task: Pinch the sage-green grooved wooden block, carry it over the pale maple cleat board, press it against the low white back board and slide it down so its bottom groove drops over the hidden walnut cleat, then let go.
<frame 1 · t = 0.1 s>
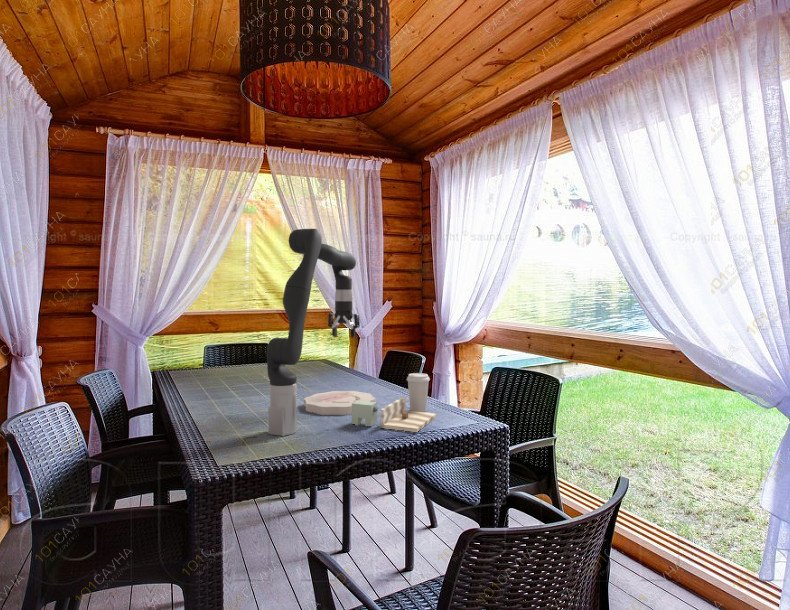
hand: (343, 337, 214), 29 cm above the table, tool pointing down, fingers open, 8 cm apart
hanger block: (364, 424, 184), on the table
coffee cup: (418, 411, 203), on the table
cleat board: (409, 422, 185), on the table
decorative plaque: (339, 407, 212), on the table
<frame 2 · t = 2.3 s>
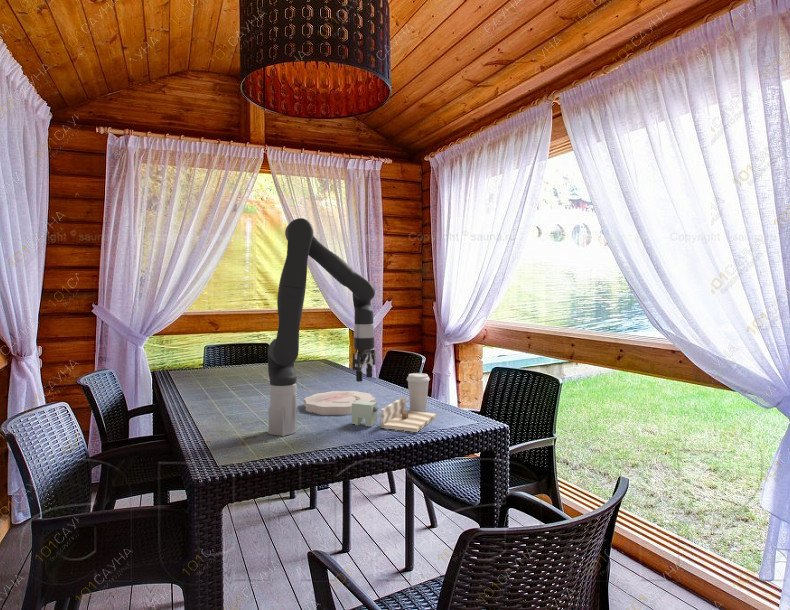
hand: (364, 379, 183), 17 cm above the table, tool pointing down, fingers open, 8 cm apart
nothing on the table moved.
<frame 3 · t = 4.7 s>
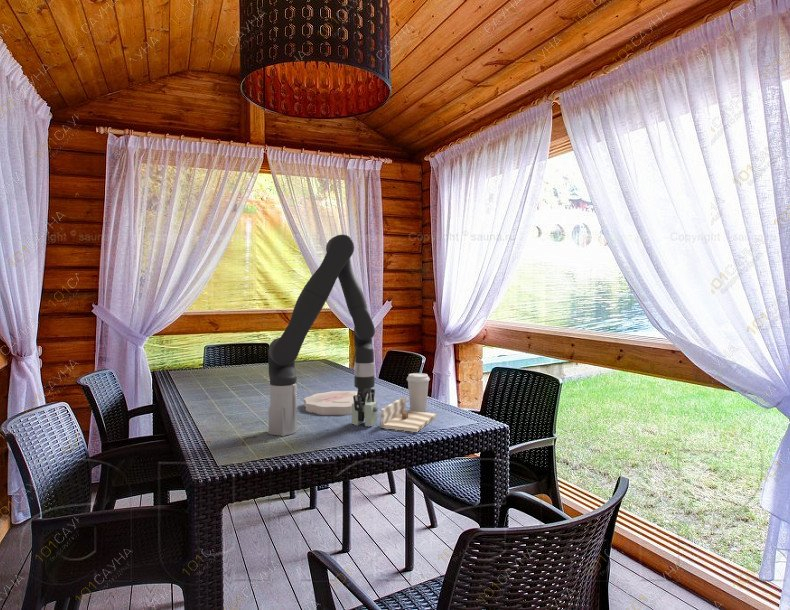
hand: (364, 419, 184), 2 cm above the table, tool pointing down, fingers closed on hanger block, 5 cm apart
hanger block: (364, 424, 184), on the table, touching gripper
everything else where it was.
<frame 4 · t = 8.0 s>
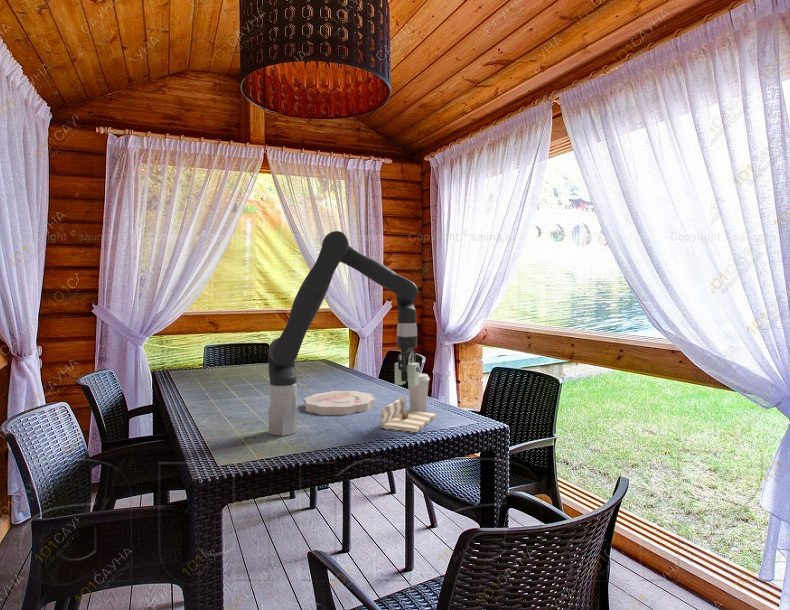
hand: (407, 379, 185), 16 cm above the table, tool pointing down, fingers closed on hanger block, 5 cm apart
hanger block: (407, 384, 185), point 15 cm above the table, touching gripper
everything else where it was.
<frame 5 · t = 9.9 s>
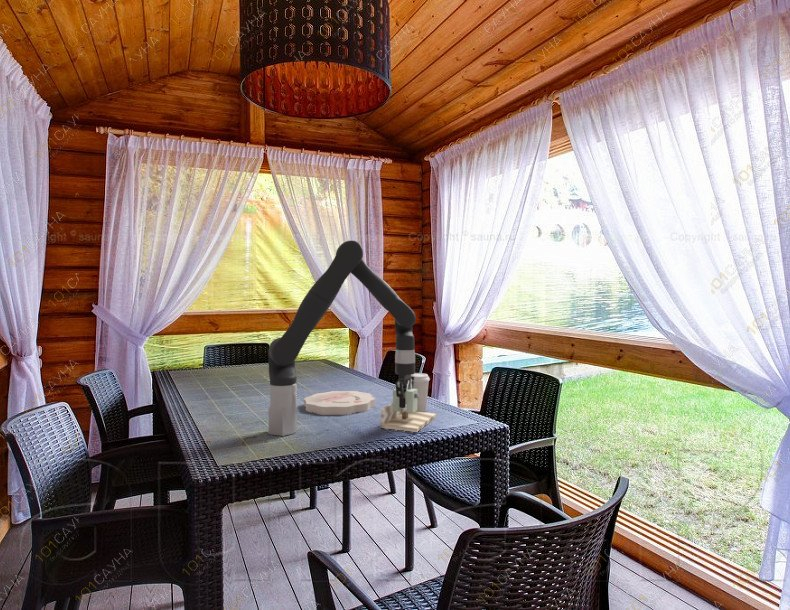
hand: (405, 405, 186), 6 cm above the table, tool pointing down, fingers closed on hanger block, 5 cm apart
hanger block: (405, 410, 186), point 5 cm above the table, touching gripper
everything else where it was.
when the fingers open (4 cm above the table, at t = 11.4 s): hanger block stays where it is, resting on cleat board.
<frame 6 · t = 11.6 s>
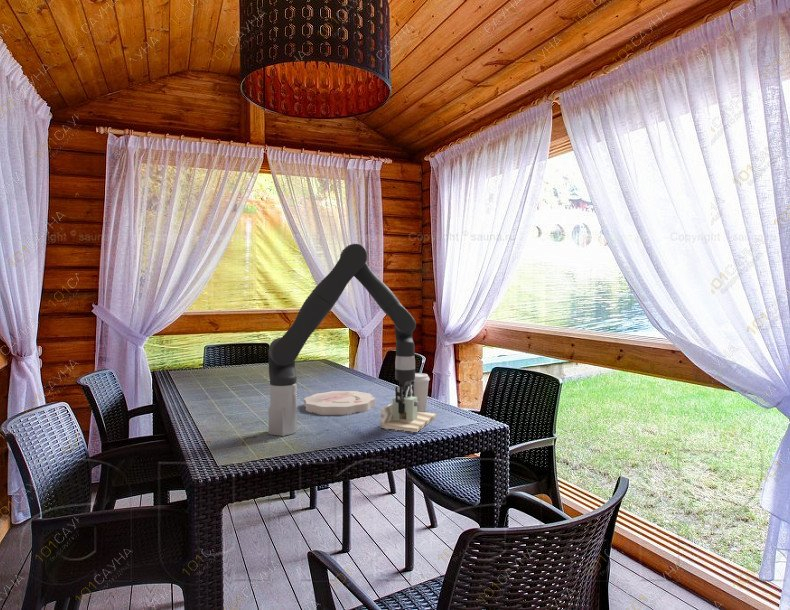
hand: (405, 410, 186), 4 cm above the table, tool pointing down, fingers open, 7 cm apart
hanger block: (405, 418, 186), point 1 cm above the table, touching cleat board
everything else where it was.
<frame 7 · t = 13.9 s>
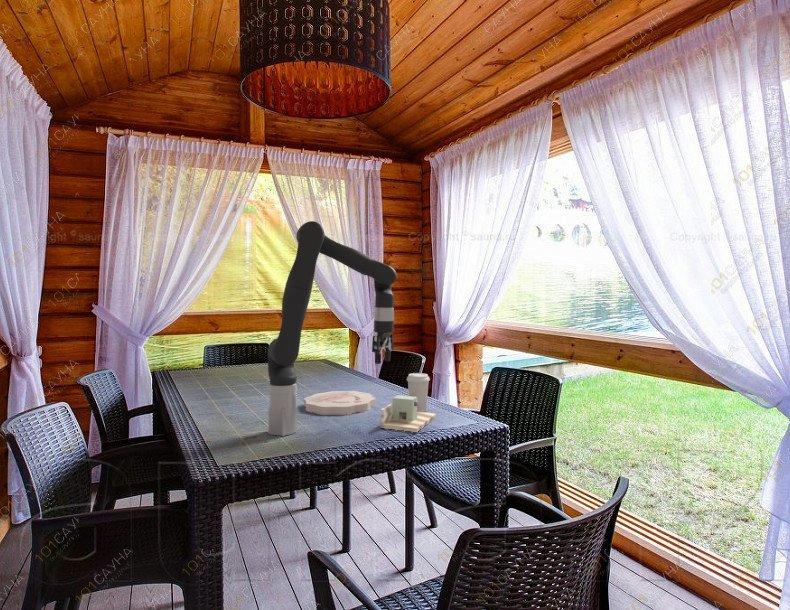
hand: (382, 362, 186), 23 cm above the table, tool pointing down, fingers open, 8 cm apart
nothing on the table moved.
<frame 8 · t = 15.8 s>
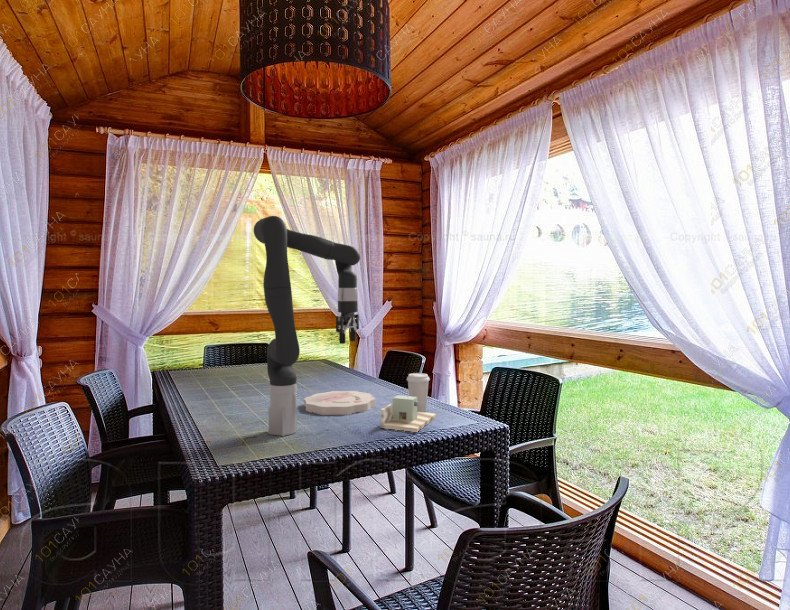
hand: (347, 342, 187), 30 cm above the table, tool pointing down, fingers open, 8 cm apart
nothing on the table moved.
at the end: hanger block 0.1 cm from the target spot on the cleat board, point 1.5 cm above the cleat board's base; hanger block tilted 0°; the gripper is holding nothing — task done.
